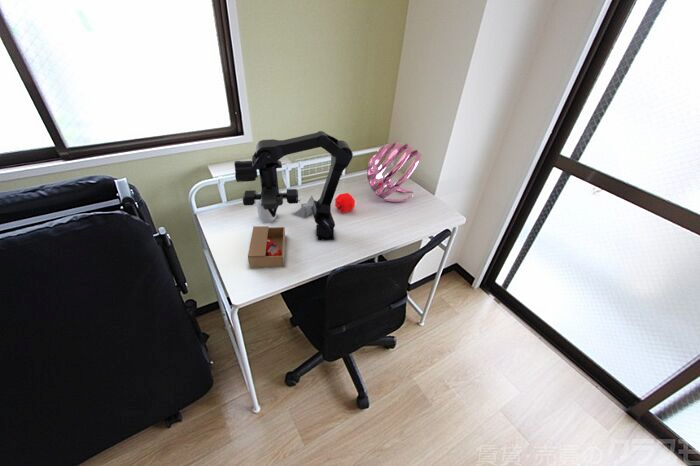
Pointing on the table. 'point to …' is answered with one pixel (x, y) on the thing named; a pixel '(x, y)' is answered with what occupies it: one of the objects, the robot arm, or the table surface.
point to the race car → (272, 249)
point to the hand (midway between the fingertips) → (273, 216)
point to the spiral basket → (386, 180)
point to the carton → (271, 261)
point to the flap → (258, 241)
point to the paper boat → (305, 208)
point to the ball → (345, 202)
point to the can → (263, 212)
